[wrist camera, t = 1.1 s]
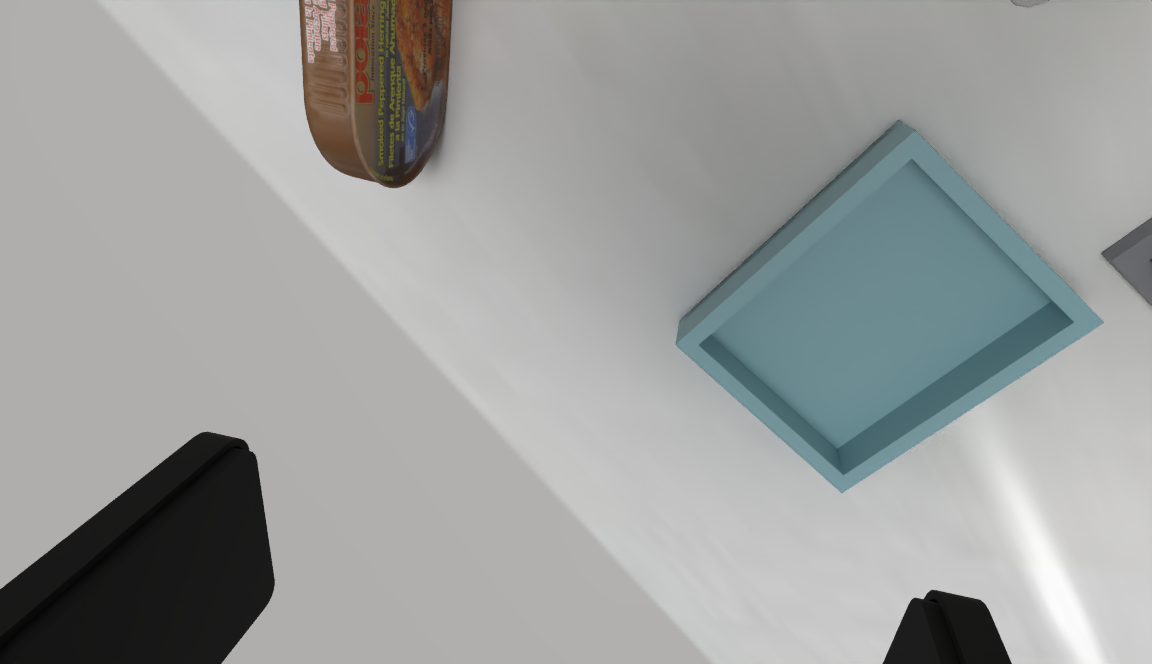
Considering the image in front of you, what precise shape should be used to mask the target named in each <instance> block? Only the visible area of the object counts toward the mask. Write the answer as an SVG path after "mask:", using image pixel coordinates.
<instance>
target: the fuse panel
mask: <svg viewBox="0 0 1152 664" xmlns="http://www.w3.org/2000/svg"><path fill="white" fill-rule="evenodd" d="M1101 254H1102V255H1103V256H1104V257H1105V258H1106V259H1107V260H1108V261H1109V262H1110V263H1111V264H1112V265H1113V266H1114V267H1115V268H1116V269H1117V270H1118V271H1119V272H1120V273H1121V274H1122V276H1123V277H1124V278H1125V279H1126V280H1127V281H1128V282H1129V283H1130V284H1131V285H1132V286H1133V287H1134V288H1135V289H1136V290H1137V291H1138V292H1139V293H1140V294H1141V295H1142V296H1143V297H1144V298H1145V299H1146V300H1147V301H1148V303H1149V304H1150V305H1151V306H1152V218H1151V219H1150V220H1148V221H1147V222H1145V223H1144V224H1143V225H1141V226H1140V227H1138V228H1137V229H1135V230H1134V231H1133V232H1131V233H1130V234H1128V235H1127V236H1125V237H1124V238H1123V239H1121V240H1120V241H1118V242H1117V243H1115V244H1114V245H1112V246H1111V247H1110V248H1108V249H1107V250H1105V251H1104V252H1102V253H1101Z"/></svg>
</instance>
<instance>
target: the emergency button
mask: <svg viewBox="0 0 1152 664" xmlns="http://www.w3.org/2000/svg"><path fill="white" fill-rule="evenodd" d="M1011 1H1012V2H1013V3H1014V4H1015V5H1018V6H1024V7H1032V6H1035V5H1038V4H1041V3H1044V2H1047V1H1049V0H1011Z"/></svg>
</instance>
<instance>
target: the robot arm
mask: <svg viewBox="0 0 1152 664" xmlns="http://www.w3.org/2000/svg"><path fill="white" fill-rule="evenodd" d="M274 581H275V580H274V573H273V566H272V559H271V552H270V547H269V539H268V532H267V525H266V519H265V512H264V505H263V498H262V491H261V485H260V478H259V471H258V464H257V459H256V456H255V454H254V453H253V452H251V451H249V447H248V445H247V443H246V442H245V441H244V440H242V439H239V438H234V437H229V436H225V435H220V434H216V433H211V432H203V433H200V434H198V435H197V436H195V437H193V438H192V439H191V440H190V441H188V442H187V443H186V444H185V445H183V446H182V447H181V448H180V449H178V450H177V451H176V452H174V453H173V454H172V455H171V456H169V457H168V458H167V459H165V460H164V461H163V462H162V463H160V464H159V465H158V466H157V467H155V468H154V469H153V470H151V471H150V472H149V473H148V474H146V475H145V476H144V477H143V478H141V479H140V480H139V481H137V482H136V483H135V484H134V485H132V486H131V487H130V488H129V489H127V490H126V491H125V492H123V493H122V494H121V495H120V496H118V497H117V498H116V499H115V500H113V501H112V502H111V503H109V504H108V505H107V506H106V507H104V508H103V509H102V510H101V511H99V512H98V513H97V514H96V515H94V516H93V517H92V518H91V519H89V520H88V521H87V522H85V523H84V524H83V525H82V526H80V527H79V528H78V529H76V530H75V531H74V532H73V533H71V534H70V535H69V536H68V537H66V538H65V539H64V540H62V541H61V542H60V543H59V544H57V545H56V546H55V547H54V548H52V549H51V550H50V551H48V553H46V554H45V555H43V556H42V557H41V558H40V559H38V560H37V561H36V562H34V563H33V564H32V565H31V566H29V567H28V568H27V569H26V570H24V571H23V572H22V573H20V574H19V575H18V576H17V577H15V578H14V579H13V580H12V581H10V582H9V583H8V584H6V585H5V586H4V587H3V588H1V589H0V664H221V663H222V662H223V661H224V659H225V658H226V657H227V655H228V654H229V653H230V652H231V650H232V649H233V648H234V647H235V645H236V644H237V643H238V642H239V640H240V639H241V638H242V637H243V635H244V634H245V633H246V631H247V630H248V629H249V627H250V626H251V625H252V624H253V622H254V621H255V620H256V619H257V617H258V616H259V615H260V614H261V612H262V611H263V610H264V608H265V607H266V606H267V604H268V603H269V601H270V599H271V596H272V593H273V590H274V585H275V582H274ZM883 664H1012V663H1011V661H1010V658H1009V656H1008V654H1007V651H1006V649H1005V647H1004V644H1003V642H1002V640H1001V637H1000V635H999V633H998V630H997V628H996V626H995V623H994V621H993V619H992V616H991V614H990V612H989V610H988V608H987V606H986V605H985V603H983V602H982V601H981V600H978V599H974V598H969V597H964V596H960V595H955V594H951V593H946V592H941V591H937V590H931V591H930V592H928V593H927V595H926V596H925V598H924V599H919V598H914V599H912V600H911V602H910V603H909V605H908V607H907V610H906V612H905V614H904V617H903V619H902V621H901V623H900V626H899V628H898V630H897V632H896V635H895V637H894V639H893V642H892V644H891V646H890V648H889V651H888V653H887V655H886V658H885V660H884V662H883Z"/></svg>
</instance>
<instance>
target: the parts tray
mask: <svg viewBox="0 0 1152 664" xmlns="http://www.w3.org/2000/svg"><path fill="white" fill-rule="evenodd" d="M1103 323H1104V322H1103V321H1102V320H1101V319H1100V318H1099V317H1098V316H1097V315H1096V314H1095V313H1094V312H1093V311H1092V310H1091V309H1090V308H1089V307H1088V306H1087V305H1086V303H1085V302H1084V301H1083V300H1082V299H1081V298H1080V297H1079V296H1078V295H1077V294H1076V293H1075V292H1074V291H1073V290H1072V289H1071V288H1070V287H1069V286H1068V285H1067V284H1066V283H1065V282H1064V281H1063V280H1062V279H1061V278H1060V277H1059V276H1058V275H1057V274H1056V273H1055V272H1054V271H1053V270H1052V269H1051V268H1050V267H1049V266H1048V265H1047V264H1046V263H1045V262H1044V261H1043V260H1042V259H1041V258H1040V257H1039V256H1038V255H1037V254H1036V253H1035V252H1034V251H1033V250H1032V249H1031V248H1030V247H1029V246H1028V244H1027V243H1026V242H1025V241H1024V240H1023V239H1022V238H1021V237H1020V236H1019V235H1018V234H1017V233H1016V232H1015V231H1014V230H1013V229H1012V228H1011V227H1010V226H1009V225H1008V224H1007V223H1006V222H1005V221H1004V220H1003V219H1002V218H1001V217H1000V216H999V215H998V214H997V213H996V212H995V211H994V210H993V209H992V208H991V207H990V206H989V205H988V204H987V203H986V202H985V201H984V200H983V199H982V198H981V197H980V196H979V195H978V194H977V193H976V192H975V191H974V190H973V189H972V188H971V187H970V185H969V184H968V183H967V182H966V181H965V180H964V179H963V178H962V177H961V176H960V175H959V174H958V173H957V172H956V171H955V170H954V169H953V168H952V167H951V166H950V165H949V164H948V163H947V162H946V161H945V160H944V159H943V158H942V157H941V156H940V155H939V154H938V153H937V152H936V151H935V150H934V149H933V148H932V147H931V146H930V145H929V144H928V143H927V142H926V141H925V140H924V139H923V138H922V137H921V136H920V135H919V134H918V133H917V132H916V131H915V130H914V129H912V128H911V127H909V126H908V125H906V124H905V123H903V122H902V121H900V120H899V121H897V122H896V123H895V124H894V125H893V126H892V127H891V128H890V129H889V130H888V131H887V132H885V133H884V134H883V135H882V136H881V137H880V138H879V139H878V140H877V141H876V142H874V143H873V144H872V145H871V146H870V147H869V148H868V149H867V150H866V151H865V152H864V153H862V154H861V155H860V156H859V157H858V158H857V159H856V160H855V161H854V162H853V163H852V164H850V165H849V166H848V167H847V168H846V169H845V170H844V171H843V172H842V173H841V174H839V175H838V176H837V177H836V178H835V179H834V180H833V181H832V182H831V183H830V184H829V185H827V186H826V187H825V188H824V189H823V190H822V191H821V192H820V193H819V194H818V195H817V196H815V197H814V198H813V199H812V200H811V201H810V202H809V203H808V204H807V205H806V206H804V207H803V208H802V209H801V210H800V211H799V212H798V213H797V214H796V215H795V216H794V217H792V218H791V219H790V220H789V221H788V222H787V223H786V224H785V225H784V226H783V227H781V228H780V229H779V230H778V231H777V232H776V233H775V234H774V235H773V236H772V237H771V238H769V239H768V240H767V241H766V242H765V243H764V244H763V245H762V246H761V247H760V248H759V249H757V250H756V251H755V252H754V253H753V254H752V255H751V256H750V257H749V258H748V259H746V260H745V261H744V262H743V263H742V264H741V265H740V266H739V267H738V268H737V269H736V270H734V271H733V272H732V273H731V274H730V275H729V276H728V277H727V278H726V279H725V280H724V281H722V282H721V283H720V284H719V285H718V286H717V287H716V288H715V289H714V290H713V291H711V292H710V293H709V294H708V295H707V296H706V297H705V298H704V299H703V300H702V301H701V302H699V303H698V304H697V305H696V306H695V307H694V308H693V309H692V310H691V311H690V312H689V313H687V314H686V315H685V316H684V317H683V318H682V319H681V320H680V321H679V327H678V333H677V339H676V344H675V345H676V346H677V347H678V348H680V349H681V350H682V351H683V352H684V353H685V354H686V355H687V356H688V357H690V358H691V359H692V360H693V361H694V362H695V363H696V364H697V365H699V366H700V367H701V368H702V369H703V370H704V371H705V372H706V373H708V374H709V375H710V376H711V377H712V378H713V379H714V380H715V381H717V382H718V383H719V384H720V385H721V386H722V387H723V388H724V389H725V390H727V391H728V392H729V393H730V394H731V395H732V396H733V397H734V398H736V399H737V400H738V401H739V402H740V403H741V404H742V405H743V406H745V407H746V408H747V409H748V410H749V411H750V412H751V413H752V414H754V415H755V416H756V417H757V418H758V419H759V420H760V421H761V422H763V423H764V424H765V425H766V426H767V427H768V428H769V429H770V430H771V431H773V432H774V433H775V434H776V435H777V436H778V437H779V438H780V439H782V440H783V441H784V442H785V443H786V444H787V445H788V446H789V447H791V448H792V449H793V450H794V451H795V452H796V453H797V454H798V455H800V456H801V457H802V458H803V459H804V460H805V461H806V462H807V463H809V464H810V465H811V466H812V467H813V468H814V469H815V470H816V471H817V472H819V473H820V474H821V475H822V476H823V477H824V478H825V479H826V480H828V481H829V482H830V483H831V484H832V485H833V486H834V487H835V488H837V489H838V490H839V491H840V492H841V493H843V492H844V491H846V490H847V489H849V488H850V487H852V486H854V485H855V484H857V483H858V482H860V481H861V480H863V479H864V478H866V477H867V476H869V475H870V474H872V473H874V472H875V471H877V470H878V469H880V468H881V467H883V466H884V465H886V464H887V463H889V462H890V461H892V460H894V459H895V458H897V457H898V456H900V455H901V454H903V453H904V452H906V451H907V450H909V449H910V448H912V447H914V446H915V445H917V444H918V443H920V442H921V441H923V440H924V439H926V438H927V437H929V436H931V435H932V434H934V433H935V432H937V431H938V430H940V429H941V428H943V427H944V426H946V425H947V424H949V423H951V422H952V421H954V420H955V419H957V418H958V417H960V416H961V415H963V414H964V413H966V412H967V411H969V410H971V409H972V408H974V407H975V406H977V405H978V404H980V403H981V402H983V401H984V400H986V399H987V398H989V397H991V396H992V395H994V394H995V393H997V392H998V391H1000V390H1001V389H1003V388H1004V387H1006V386H1007V385H1009V384H1011V383H1012V382H1014V381H1015V380H1017V379H1018V378H1020V377H1021V376H1023V375H1024V374H1026V373H1027V372H1029V371H1031V370H1032V369H1034V368H1035V367H1037V366H1038V365H1040V364H1041V363H1043V362H1044V361H1046V360H1047V359H1049V358H1051V357H1052V356H1054V355H1055V354H1057V353H1058V352H1060V351H1061V350H1063V349H1064V348H1066V347H1067V346H1069V345H1071V344H1072V343H1074V342H1075V341H1077V340H1078V339H1080V338H1081V337H1083V336H1084V335H1086V334H1087V333H1089V332H1091V331H1092V330H1094V329H1095V328H1097V327H1098V326H1100V325H1101V324H1103Z"/></svg>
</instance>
